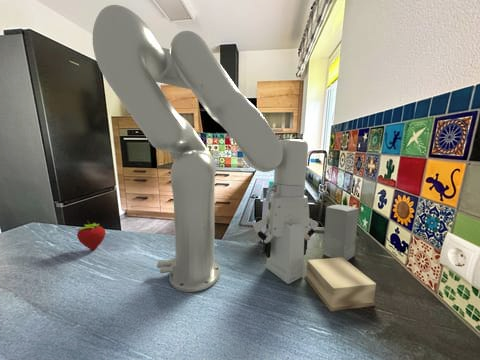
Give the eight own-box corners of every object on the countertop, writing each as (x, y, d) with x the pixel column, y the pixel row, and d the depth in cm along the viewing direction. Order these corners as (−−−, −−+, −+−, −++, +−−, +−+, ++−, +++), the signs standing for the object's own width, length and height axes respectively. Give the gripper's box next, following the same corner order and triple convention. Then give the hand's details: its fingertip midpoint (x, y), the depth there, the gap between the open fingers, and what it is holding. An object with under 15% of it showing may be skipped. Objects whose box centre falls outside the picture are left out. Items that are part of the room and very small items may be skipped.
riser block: (330, 311, 38) (333, 289, 37) (304, 277, 48) (306, 259, 47) (374, 305, 40) (377, 284, 39) (340, 274, 50) (342, 256, 49)
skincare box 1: (303, 277, 48) (308, 222, 46) (286, 286, 45) (291, 227, 43) (279, 261, 55) (283, 212, 53) (264, 267, 52) (266, 216, 50)
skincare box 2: (342, 264, 54) (349, 212, 52) (319, 253, 60) (324, 206, 57) (355, 255, 59) (362, 207, 57) (333, 246, 65) (338, 202, 62)
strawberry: (97, 256, 55) (93, 223, 53) (72, 254, 55) (69, 222, 54) (111, 246, 61) (109, 216, 59) (89, 244, 61) (86, 215, 60)
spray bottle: (259, 237, 70) (262, 179, 66) (275, 237, 70) (279, 180, 67) (262, 245, 64) (265, 182, 60) (280, 245, 64) (284, 182, 61)
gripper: (259, 194, 41) (256, 264, 44) (329, 193, 44) (322, 259, 47) (251, 187, 49) (249, 248, 51) (312, 187, 52) (307, 244, 54)
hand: (284, 253), depth 49 cm, fingers open, 9 cm apart
